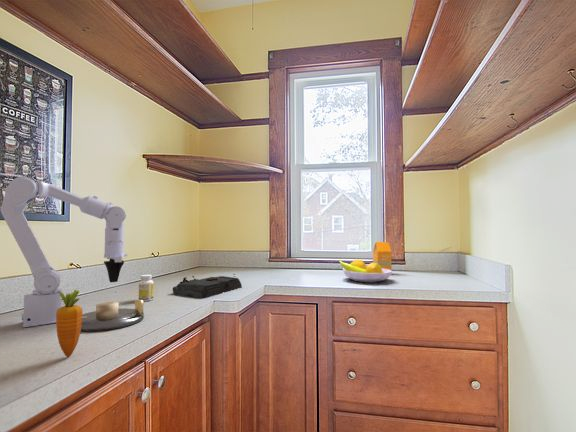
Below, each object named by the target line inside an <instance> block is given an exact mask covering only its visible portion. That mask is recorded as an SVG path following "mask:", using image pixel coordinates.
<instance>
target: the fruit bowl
mask: <svg viewBox="0 0 576 432" xmlns="http://www.w3.org/2000/svg"><path fill="white" fill-rule="evenodd" d="M338 262H339V263H340V265H341V267H343V268H342V271H343V274H344V275H345V277H346V278H349V279H350V280H353V281H354V282H356V281H360V282H359V283H368V282H374V283H378V282H382V281H385V280H387V279H388V278H390V277H391V276H392V273H393V270H392V269H391V270H389V269H384V268H382V267H381V266H380V265H379V264H377V263H373V261H372V262H370V263H369V264H367V265H366V263H365V262H364V261H363V259H354V260H353V261H351V262H350V264H349V263H346V262H343V261H342V260H340V259H339V260H338ZM377 281H378V282H377Z"/></svg>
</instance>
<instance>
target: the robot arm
mask: <svg viewBox="0 0 576 432" xmlns="http://www.w3.org/2000/svg"><path fill="white" fill-rule="evenodd" d="M37 197H39V198H40V199H41V198H42V199H43V198H44V199H45V198H53V199H56V200H58V201H61V202H65V203H67V204H71V205H72V206H76V207H78V208H79V210H80V212H81V213H84V214H86V215H89V216H92V217H94V218H97V219H100V220H105V228H104V254H103V258H104V259H106V260H104V261H103V264H104V265H105V268H106V271H107V276H108V280H109V283H117V282H118V280H119V278H120V277H119V276H120V274H121V273H120V272H121V270H122V267H123V266H124V264H125V261H124V260H123V258H124V257H128V254H127V253H124V252H125V251H124V250H125V249H124V246H125V244H124V242H125V228H124V226H125V220H126V218H127V214H126V212H125V210H124V209H123V208H122V207H120V206H115V205H114V204H113V203H112V202H109V203H108V202H106V201H103V200H101V199H99V198H98V196H95V195H94V196H90V195H88V196H85V197H82V196H79V195H77V194H76V193H75V194H74V193H72V192H70V191H68V190H66V189H63V188H61V187H58V186H56V185H53V184H51V183H48V182H45V181H44V182H43V181H41V180H38V179H35V180H33V178H31V177H29V176H28V177H27V176H19V177H18V176H17V177H16V178H14V179H12V180H11V182H10V183H8V185H7V186H6V188H5V192H4V197H3V200H2V203H1V206H0V213H1V215H2V217H3V219H4V221H5V223H6V225H7V226H8V229H9V230H10V233H11V234H12V236H13V238H14V240H15V242H16V244H17V246H18V248H19V250H20V251H21V253H22V255H23V257H24V259H25V260H26V263H27V264H28V267H29V269H30V272H31V274H32V277H33V287H34V289H33V291H32V293H29V294H24V295H23V313H22V314H21V321H22V322H23V323H22V328H30V327H35V326H36V327H37V326H43V325H48V324H49V325H50V324H56V312H57V310H58V309H59V308H61V307H62V297H61V296H60V295H59V293H61V292H62V288H60V287H59V286H60V284H61V274H60V273H59V272H58V271H57V270H56V269H54V268H53V267H52V265H51V263H50V262H49V259H47V256H46V255H45V253H44V250H43V248H42V247H41V244H40V242H39V241H38V238H37V237H36V235H35V233H34V231H33V229H32V227H31V226H30V224H29V222H28V219H27V217H26V215H25V213H24V212H25V210H26V208H27V206H29V203H31V202H32V201H33V200H34V199H36V198H37ZM113 205H114V206H113ZM62 293H63V292H62Z"/></svg>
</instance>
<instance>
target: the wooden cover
mask: <svg viewBox="0 0 576 432" xmlns="http://www.w3.org/2000/svg"><path fill="white" fill-rule="evenodd" d="M119 304H120V303H119V302H117V301H106V302H100V303H98V304H96V305H95V306H96V307H95V311H96V319H97V320H110V319H114V318H117V317H118V309H119Z"/></svg>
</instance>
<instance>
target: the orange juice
mask: <svg viewBox="0 0 576 432" xmlns="http://www.w3.org/2000/svg"><path fill="white" fill-rule="evenodd" d="M373 246H374V247H373V250H372V257H373V259H372V262H373V263H377V264H379V265H380V266H381V267H382V268H384V269H389V270H391V271H392V263H393V262H392V250H391V245H390V242H389V241H375V242H374V245H373Z"/></svg>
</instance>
